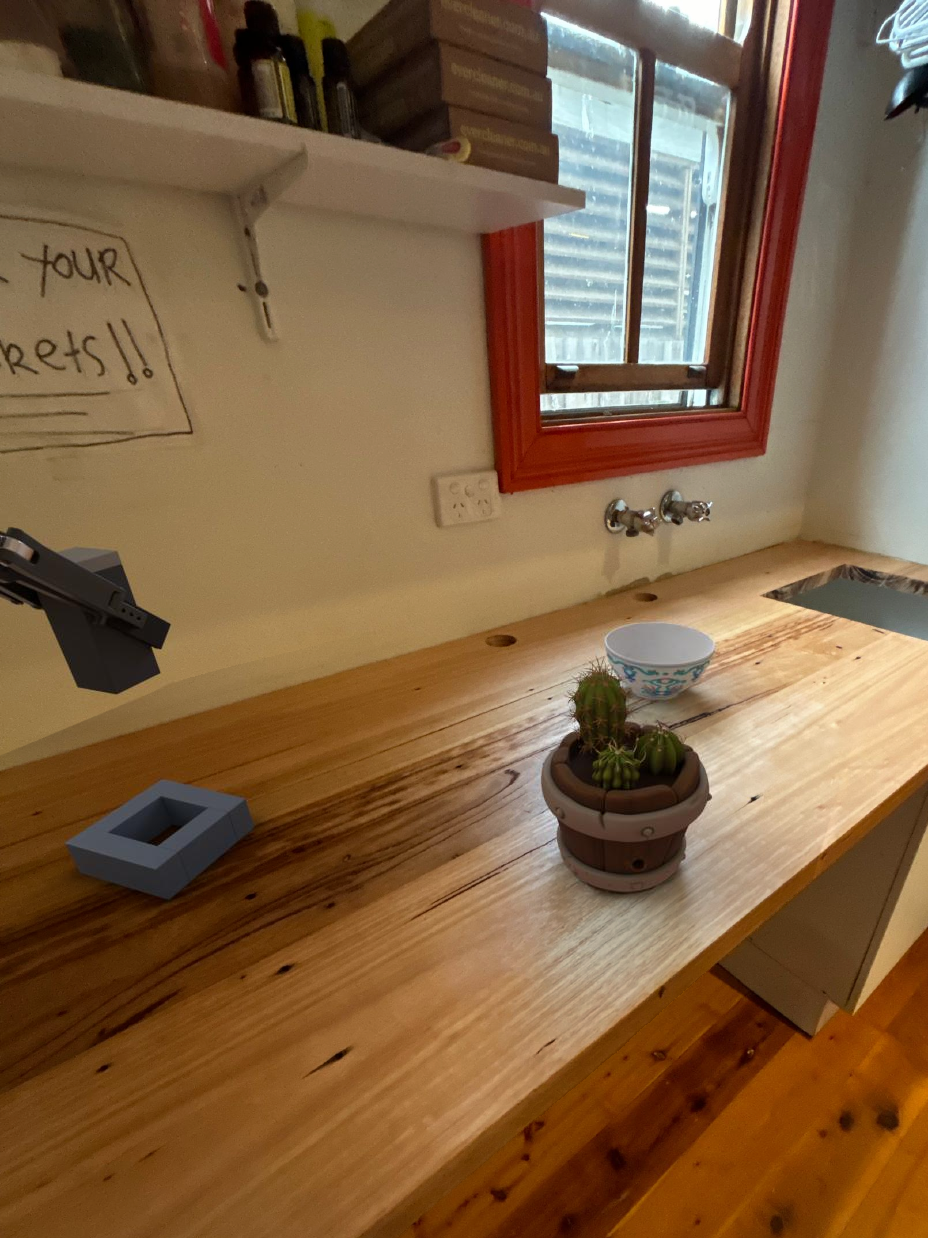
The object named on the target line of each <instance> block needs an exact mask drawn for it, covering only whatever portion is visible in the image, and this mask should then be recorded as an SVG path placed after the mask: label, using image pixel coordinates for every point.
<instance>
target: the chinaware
mask: <svg viewBox="0 0 928 1238" xmlns="http://www.w3.org/2000/svg"><path fill="white" fill-rule="evenodd" d="M604 647H605V653H606V656H607V660H608V663H609V666H610V667H612V669H613V671H612V672H613V673H614V675H615V676H616V677H617V678H618V676H619V677H622V678H621V679H623V680H621V681H620V682H621V683H622V684H623V685H625V686H626V687H627V688H629V689H630V687H631V689H630V690H631V691H632V693H633V694H634V695H635V696H638V697H639V698H642V699H646V700H650V701H667V700H671V699H674V698H676V697H677V696H678V695H679V694H680V693H681V692H684V691H686V690H687V689H688V688H690V687H691V686H693V685H694V684H695V683H697V682H698V681H699V680H700V679H701V677H702V676H703V675H704V674H705V672H706V671H707V669H708V667H709V665H710V663H711V661H712V659H713V656H714V653H715V652H716V651H715V650H716V643H715V641H714V639H713V638H712V637H711V636H710V635H709V634H707V633H705V632H703V631H701V630H699V629H697V628H694V627H692V626H688V625H683V624H678V623H672V622H661V621H649V622H648V621H647V622H645V621H644V622H635V623H629V624H625V625H622V626H619V627H616V628H614V629H613V630H611V631H609V632H608V633H607V635H606V636H605V637H604ZM618 673H619V675H618ZM626 675H627V676H626ZM623 676H624V677H623ZM625 678H628V679H625ZM619 679H620V678H619ZM624 681H625V682H624ZM626 682H627V683H626Z"/></svg>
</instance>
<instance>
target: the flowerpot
mask: <svg viewBox="0 0 928 1238" xmlns="http://www.w3.org/2000/svg"><path fill="white" fill-rule="evenodd" d="M594 656H595V659H596V662H597V666H595V665H594V661H590V660H588V663H590V664H591V667H589V668H588V667H586V668H582V669H581V670H580V669H579V671H578V673H579V677H574V676H572V678H573V679H574V680H575V681H574V682H573V681H572V682H570V684H576V688H575V689H577V690H576V691H574V690H570V689H569V690H566V692H567V694H568V695H569V696H568V695H565V694H562V695H563V696H564V697H566V698H567V699H569V700H567V706H569V704H570V702H571V703H572V705H571V707H574V706H575V708H573V709H574V710H572V709H571V707H569V712H568V714H567V717H569V718H568V720H567V722H569V721H571V720H572V719H573V721H572V722H571V724H573V723H574V724H576V722H577V723H578V725H579V726H578V725H576V726H575V725H573V726H574V728H572V730H573V731H572V732H569V733H567V734H566V735H565V736H564V737H563V738H562V739H561V741H560V744H559V745H557V746H555V747H554V748H553V749H552V750H551V751H550V752H549V753H548V754H547V756H546V757H545V759H544V761H543V763H542V768H541V774H540V775H541V776H540V783H541V784H540V787H541V788H540V789H541V792H542V796H543V800H544V802H545V804H546V806H547V807H548V808H547V809H548V810H549V811H550V812H551V814H552V815H553V816H554V817H555V818H556V820H557V823H558V826H557V829H556V842H557V846H558V850H559V853H560V856H561V858H562V861H563V863H564V865H565V866H566V868H567V869H568V871H569V872H570V873H571V874H573V875H574V876H575V877H576V878H577V879H578V880H580V881H582V882H584V883H585V884H587V886H588V887H591V888H593V889H595V890H599V891H602V890H606V891H607V892H608V893H610V894H614V895H635V894H639V893H644V892H647V891H650V890H652V889H654V888H655V887H656V886H658V885H660V884H662V883H663V882H666V880H668V879H669V878H670V877H672V876H673V874H674V873H676V871H677V869H678V868H679V866H680V864H681V862H682V861H685V860H686V858H687V855H686V851H687V838H686V837H687V836H686V833H687V831H688V830H689V829H688V828H689V827H690V825H692V823H694V822H695V821H696V820H697V819H698V818H699V817H700V816H701V815H702V814H703V812H704V810H705V809H706V806H707V804H708V802H709V801H711V800H713V795H712V794H711V793H710V781H709V777H708V773H707V770H706V767H705V765H704V764H703V762H702V761H701V759H700V756H699V754H698V753H697V752H696V751H695V750H694V748H693V747H692V746H690V745H688V744H686V743H684V742H685V741H686V739H687V735H686V734H685V733H684V732H683V734H684V735H685V736H684V738H682V736H681V735H680V731H678V730H676V729H674V728H675V726H673V727H672V728H670V729H669V728H668V727H667V726H666V725H667V724H673V722H672V721H671V722H670V721H667V722H665V723H663V722H662V723H661V722H660V721H659V720H658V719H657V718H655V717H654V720H656V721H657V724H656V725H654V724H648V723H647V724H644V725H642V726H641V725H640V724H639V723H637V722H634V721H628V720H630V719H632V717H631V716H634V714H637V713H639V711H637V712H636V709H635V708H636V706H634V704H633V703H630V699H632V701H634V702H636V699H634V698H633V695H634V693H632V692H631V691H632V689H631V687H630V688H629V689H628V686H626V687H625V688H624V684H622V681H621V680H623V679H621V678H622V677H619V676H618V677H617V675H613V672H614V671H613V669H612V667H611V666H610V664H608V665H607V664H606V661H605V658H606V657H605V656H604V657H603V658H602V660H601V663H600V662H599V659H598V657H597V654H595V655H594ZM603 664H604V667H602V666H603ZM609 666H610V667H611V668H609ZM583 670H584V671H583ZM586 673H587V674H586ZM609 673H610V674H609ZM618 675H619V673H618ZM626 676H627V675H626ZM623 677H624V676H623ZM619 678H620V679H619ZM625 679H628V678H625ZM624 682H625V681H624ZM626 683H627V682H626ZM621 684H622V685H621ZM627 703H628V705H627ZM629 704H630V705H629ZM563 716H564V717H566V714H565V715H563ZM633 719H634V720H636V718H635V717H633ZM663 727H665V729H664V728H663Z"/></svg>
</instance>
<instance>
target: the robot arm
mask: <svg viewBox="0 0 928 1238" xmlns="http://www.w3.org/2000/svg"><path fill="white" fill-rule="evenodd" d="M57 552H58V551H55V550H53V549H51V548H49V547H47V546H46V545H44V544H43V543H41V542H40V541H38V540H37V539H35V538H34V537H32V536H31V535H29V534H28V533H26V532H25V531H24V530H23V529H21V528H18V527H14V526H9V527H7V530H6V532H4V531H2V530H0V598H2V599H4V600H6V601H8V602H10V603H11V604H12V605H17V606H24V604H26V605H28V606H29V607H31V608H32V609H34V610H37V611H44V609H43V607H42V605H41V602H40V600H39V598H38V595H37V593H36V591H39V592H41V593H43V594H46V595H48V596H50V597H53V598H55V599H57V600H60V601H62V602H64V603H67V604H69V605H71V606H74V607H76V608H78V609H81V610H83V611H85V612H88V613H90V614H93V615H95V619H94V621H93V624H94V625H97V626H101V627H104V625H107V626H110V627H112V628H114V629H116V630H118V631H120V632H122V633H124V634H126V635H128V636H130V637H132V638H135V639H137V640H139V641H141V642H143V643H145V644H147V645H149V646H151V647H152V649H157V650H162V649H163V647H164V644H165V641H166V640H167V639H166V638H167V636H168V634H169V631H170V628H171V625H172V623H171V622H168V621H167V620H165V619H163V618H161V617H159V616H157V615H155V614H154V613H152V612H150V611H148V610H146V609H144V608H142V607H141V606H139V605H138V604H136V605H135V604H133V603H131V602H129V601H128V600H126V599H124V597H125V594H126V591H125V590H124V589H122V588H121V587H119V586H117V585H115V584H113V583H111V582H109V581H108V580H106V579H104V578H102V577H100V576H98V575H97V574H95V573H93V572H91V571H89V570H88V569H86V568H84V567H82V566H80V565H78V564H77V563H75V562H73V561H71V560H69V559H67V558H66V557H64V556H62V555H60V554H58V553H57ZM35 590H36V591H35Z"/></svg>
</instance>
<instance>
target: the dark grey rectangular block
mask: <svg viewBox="0 0 928 1238" xmlns="http://www.w3.org/2000/svg"><path fill="white" fill-rule="evenodd" d="M56 552H57V553H58V554H60V555H62V556H64V557H66V558H67V559H69V560H71V561H73V562H75V563H77V564H78V565H80V566H82V567H84V568H86V569H88V570H89V571H91V572H93V573H95V574H97V575H98V576H100V577H102V578H104V579H106V580H108V581H109V582H111V583H113V584H115V585H117V586H119V587H121V588H122V589H124V590H125V591H126V594H125V597H124V599H126V600H128V601H129V602H131V603H133V604H135V605H137V602H136V600H135V599H136V598H135V596H134V594H133V591H132V589H131V588H132V587H131V585H130V582H129V579H128V576H127V574H126V572H125V568H124V566H123V562H122V560H121V559H122V558H121V556H120V554H119V552H118V550H113V549H104V548H103V549H102V548H93V547H82V546H75V547H70V548H66V549H63V550H59V551H56ZM35 591H36V590H35ZM36 593H37V595H38V598H39V600H40V602H41V605H42V607H43V609H44V610H43V611H44V614H45V616H46V619H47V621H48V623H49V625H50V627H51V630H52V632H53V635H54V636H55V640H56V641H57V643H58V645H59V648H60V651H61V652H62V655H63V657H64V660H65V662H66V664H67V666H68V669H69V671H70V673H71V675H72V678H73V680H74V682H75V683H74V684H75V685H76V687H77V688H78V689H85V690H88V691H89V690H90V691H94V692H100V693H105V694H111V695H116V696H117V695H119V694H121V693H123V692H125V691H128V690H129V689H131V688H134V687H136V686H138V685H140V684H141V683H143V682H146V681H148V680H150V679H152V678H154V677H156V676H158V675H160V674H161V673H162V671H161V669H160V667H159V664H158V661H157V658H156V655H155V652H154V648H153V647H151V646H149V645H147V644H145V643H143V642H141V641H139V640H137V639H135V638H132V637H130V636H128V635H126V634H124V633H122V632H120V631H118V630H116V629H114V628H112V627H110V626H107V625H104V627H101V626H97V625H94V624H93V621H94V619H95V615H93V614H90V613H88V612H85V611H83V610H81V609H78V608H76V607H74V606H71V605H69V604H67V603H64V602H62V601H60V600H57V599H55V598H53V597H50V596H48V595H46V594H43V593H41V592H39V591H36Z"/></svg>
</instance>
